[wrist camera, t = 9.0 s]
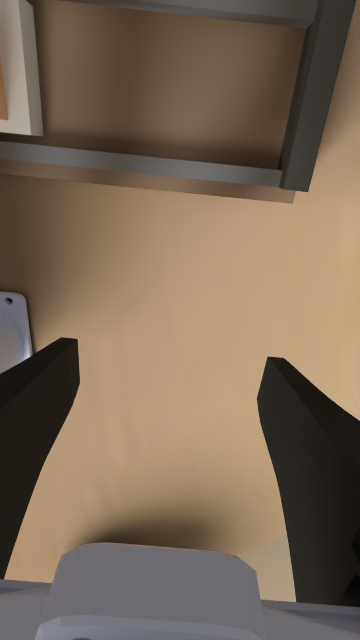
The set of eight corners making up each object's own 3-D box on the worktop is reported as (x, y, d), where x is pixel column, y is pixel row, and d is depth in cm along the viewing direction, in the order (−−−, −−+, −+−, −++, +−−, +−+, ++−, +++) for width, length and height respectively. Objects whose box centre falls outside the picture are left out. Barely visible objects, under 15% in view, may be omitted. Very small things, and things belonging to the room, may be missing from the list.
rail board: (-59, 165, 19) (-106, 167, 16) (-104, -53, 15) (-179, -106, 12) (285, 199, 20) (303, 209, 17) (330, -2, 16) (365, -40, 13)
